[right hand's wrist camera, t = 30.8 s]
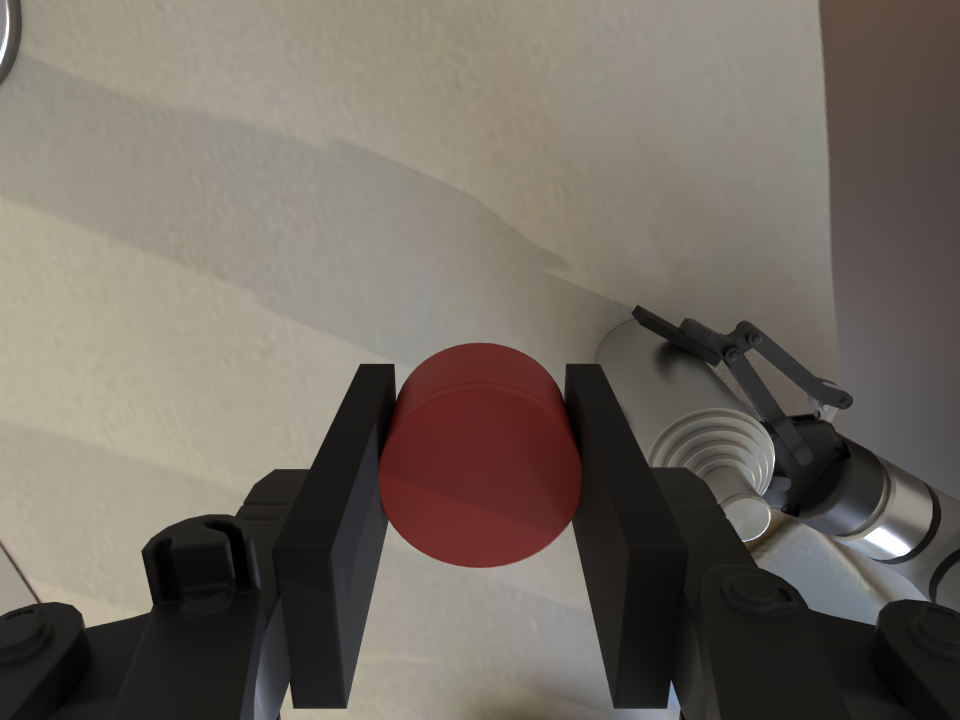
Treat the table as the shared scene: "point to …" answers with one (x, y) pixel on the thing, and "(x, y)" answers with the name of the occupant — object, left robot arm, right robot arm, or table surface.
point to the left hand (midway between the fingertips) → (606, 362)
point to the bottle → (691, 421)
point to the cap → (480, 458)
